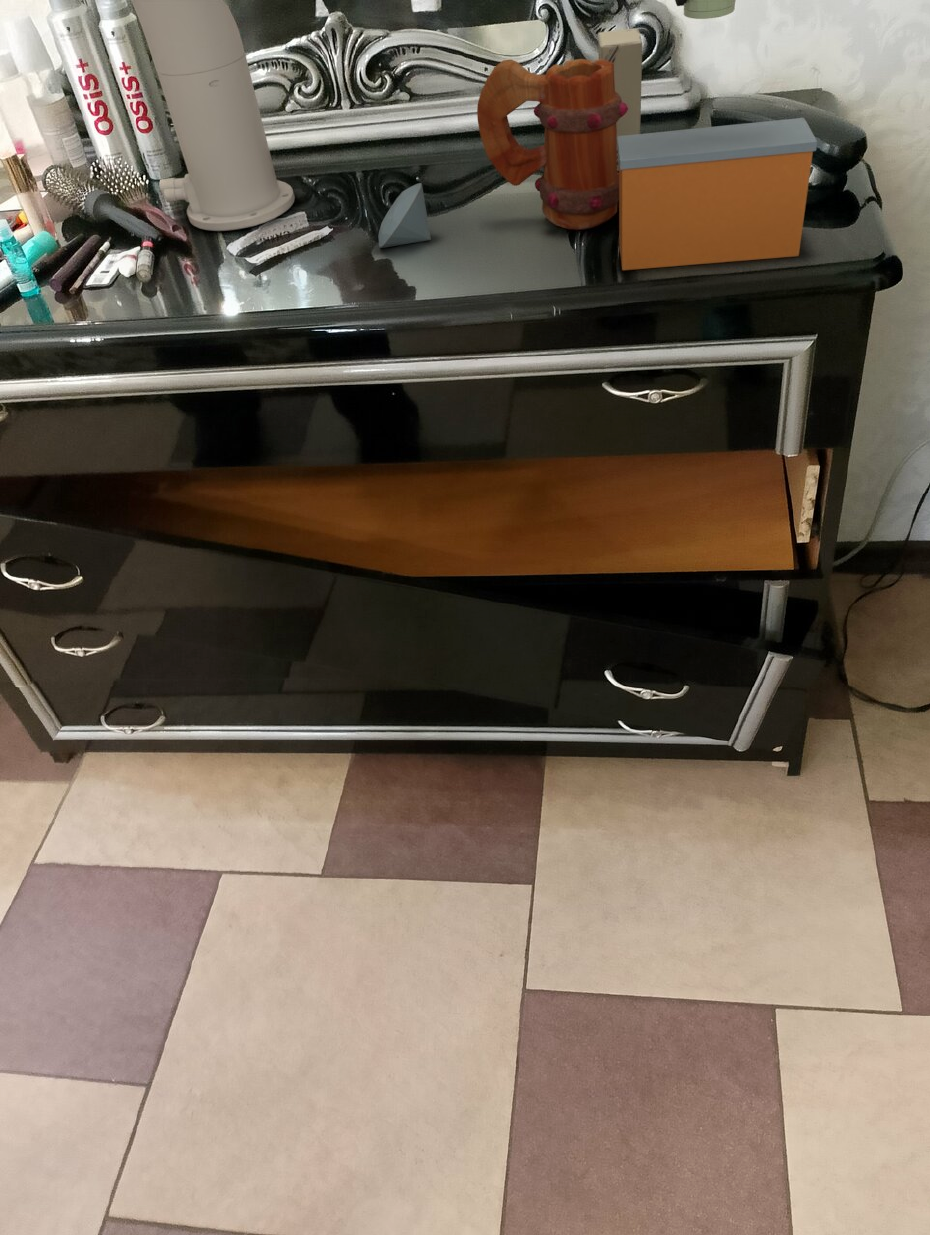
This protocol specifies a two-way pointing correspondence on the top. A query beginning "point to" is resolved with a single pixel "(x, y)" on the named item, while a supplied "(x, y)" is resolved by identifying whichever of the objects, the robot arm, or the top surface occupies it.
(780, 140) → the container
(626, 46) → the box
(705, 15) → the cup
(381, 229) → the gemstone
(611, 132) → the mug
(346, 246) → the top surface
